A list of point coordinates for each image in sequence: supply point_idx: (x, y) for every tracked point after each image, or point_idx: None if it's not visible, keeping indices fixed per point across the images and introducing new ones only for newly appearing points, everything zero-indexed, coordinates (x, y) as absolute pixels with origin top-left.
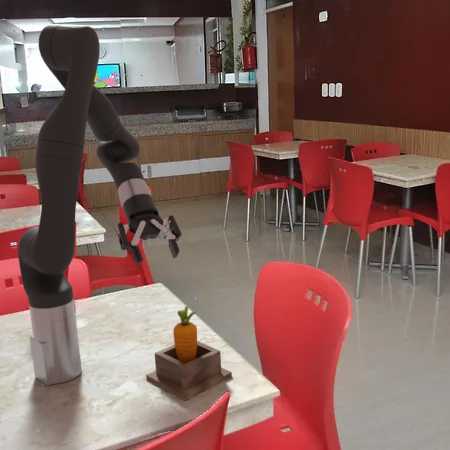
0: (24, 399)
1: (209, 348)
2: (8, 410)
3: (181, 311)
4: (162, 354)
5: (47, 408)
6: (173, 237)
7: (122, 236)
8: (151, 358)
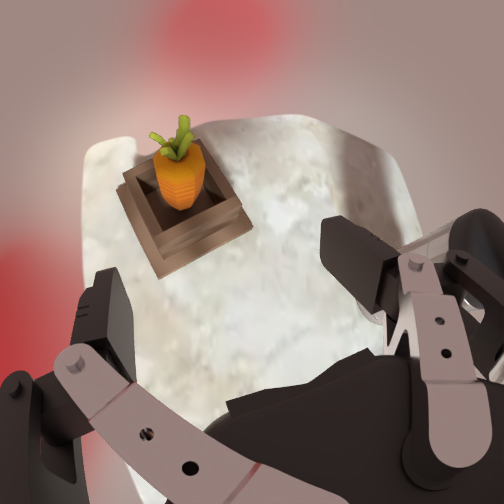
0: (406, 234)
1: (136, 187)
2: (414, 216)
3: (187, 116)
4: (227, 193)
5: (377, 202)
6: (71, 351)
7: (499, 283)
8: (236, 305)
